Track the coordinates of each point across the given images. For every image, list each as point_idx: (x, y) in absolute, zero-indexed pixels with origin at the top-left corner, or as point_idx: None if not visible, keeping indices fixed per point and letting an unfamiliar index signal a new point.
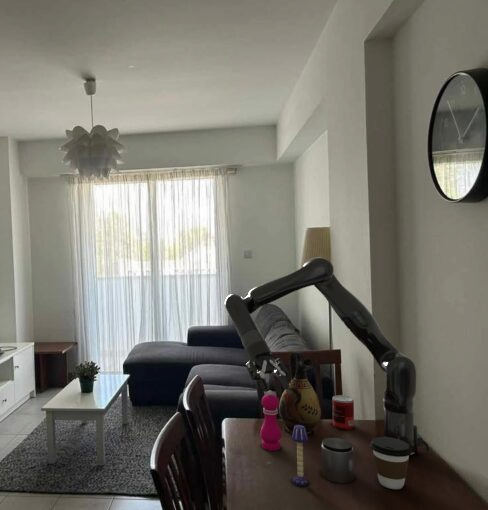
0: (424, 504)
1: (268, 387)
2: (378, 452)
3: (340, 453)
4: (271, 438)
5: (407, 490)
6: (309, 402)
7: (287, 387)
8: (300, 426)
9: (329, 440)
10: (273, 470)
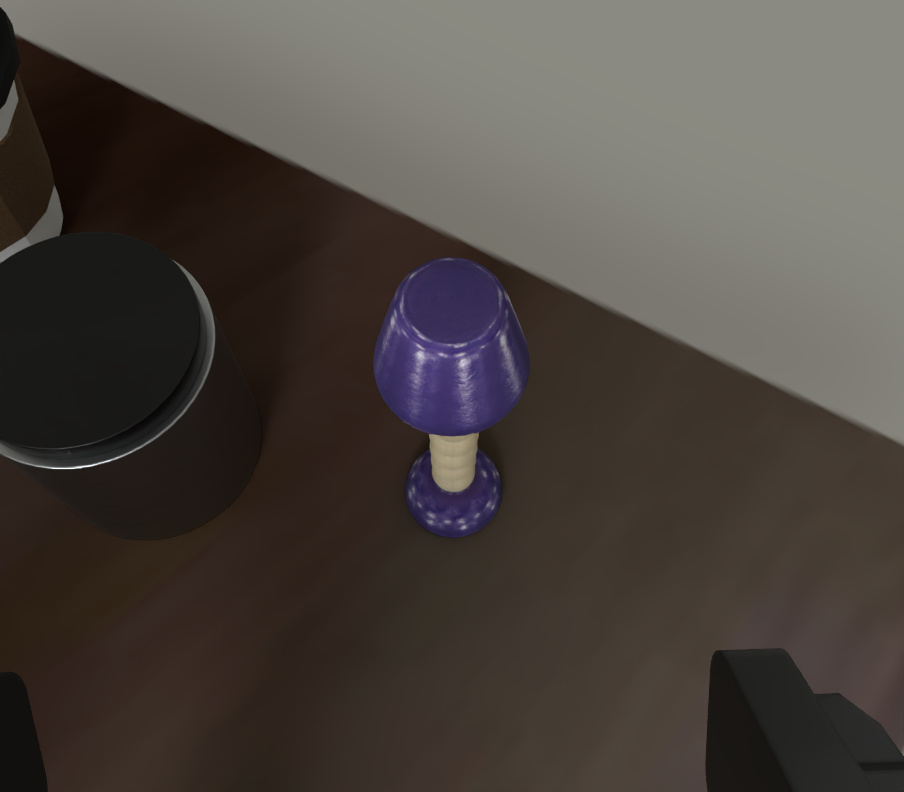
0: (84, 66)
1: (752, 657)
2: (14, 76)
3: (179, 265)
4: None
5: None
6: None
7: (21, 695)
8: (447, 293)
9: (70, 403)
10: (493, 734)
